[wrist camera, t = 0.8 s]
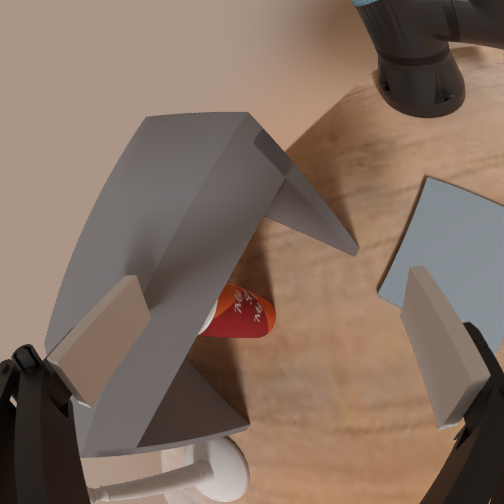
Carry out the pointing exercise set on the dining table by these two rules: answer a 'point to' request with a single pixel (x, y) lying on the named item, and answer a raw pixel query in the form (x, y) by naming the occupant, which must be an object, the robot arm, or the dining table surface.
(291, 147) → the dining table surface
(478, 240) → the mat
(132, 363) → the shelf riser
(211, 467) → the candlestick
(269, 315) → the paper cup
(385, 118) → the dining table surface
